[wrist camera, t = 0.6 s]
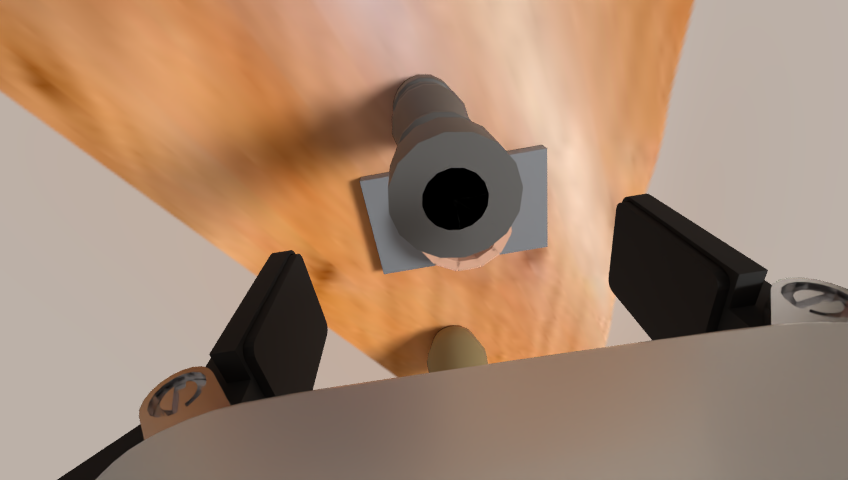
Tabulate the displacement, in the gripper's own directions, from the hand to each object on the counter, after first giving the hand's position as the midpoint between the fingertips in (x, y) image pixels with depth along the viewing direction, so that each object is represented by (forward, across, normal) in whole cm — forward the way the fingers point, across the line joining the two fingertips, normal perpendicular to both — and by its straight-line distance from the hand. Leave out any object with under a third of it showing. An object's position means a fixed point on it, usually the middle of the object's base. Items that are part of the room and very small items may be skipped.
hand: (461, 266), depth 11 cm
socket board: (+30, -2, +12) cm, 32 cm away
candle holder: (+30, 0, 0) cm, 30 cm away
